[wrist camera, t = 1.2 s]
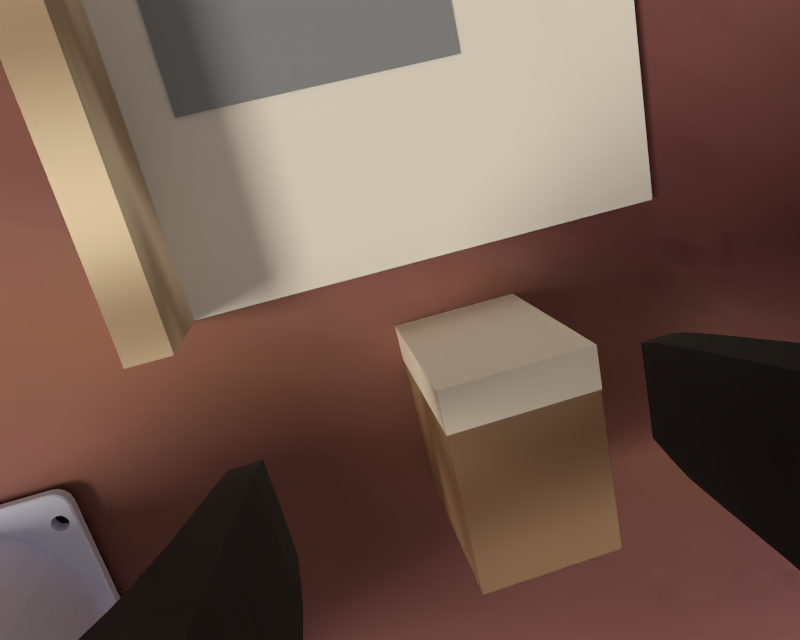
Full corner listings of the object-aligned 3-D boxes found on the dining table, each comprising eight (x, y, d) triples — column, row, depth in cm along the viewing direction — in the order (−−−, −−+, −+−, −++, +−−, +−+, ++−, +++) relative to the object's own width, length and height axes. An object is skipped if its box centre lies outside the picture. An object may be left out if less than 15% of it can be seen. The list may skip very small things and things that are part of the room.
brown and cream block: (539, 451, 21) (622, 548, 16) (432, 484, 21) (482, 595, 15) (512, 293, 19) (596, 344, 14) (395, 325, 19) (436, 390, 14)
